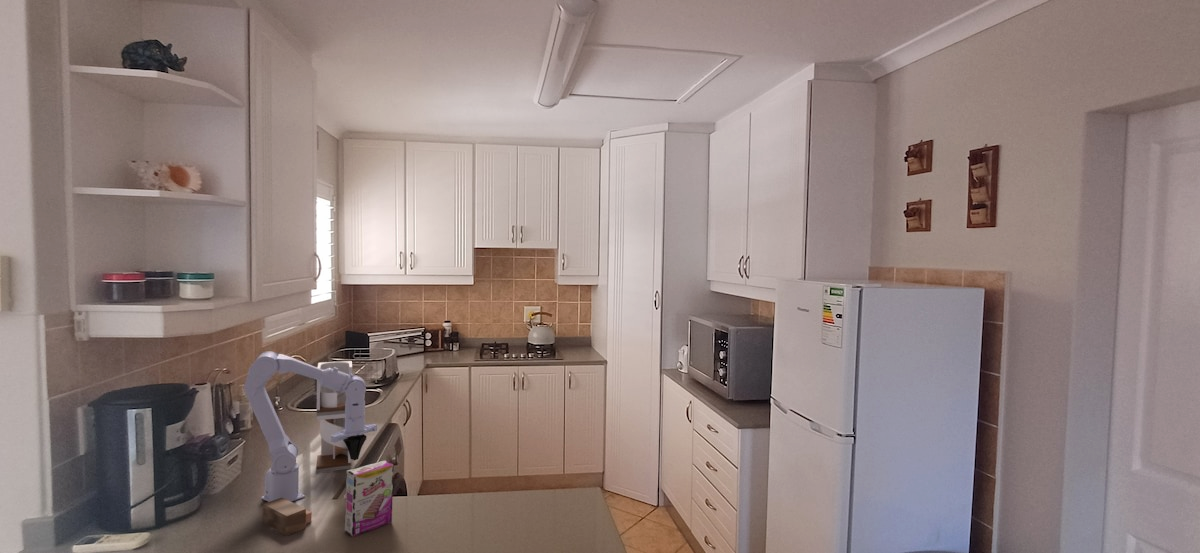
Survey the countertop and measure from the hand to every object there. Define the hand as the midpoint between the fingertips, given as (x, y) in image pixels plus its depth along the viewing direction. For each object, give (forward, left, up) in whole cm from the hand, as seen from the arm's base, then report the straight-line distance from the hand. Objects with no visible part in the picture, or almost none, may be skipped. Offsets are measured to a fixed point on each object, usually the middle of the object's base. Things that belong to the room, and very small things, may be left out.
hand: (354, 459), depth 170 cm
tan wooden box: (+6, -25, -9) cm, 27 cm away
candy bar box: (+25, -12, -10) cm, 29 cm away
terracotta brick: (+6, -23, -10) cm, 25 cm away
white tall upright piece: (-23, +8, -10) cm, 26 cm away
